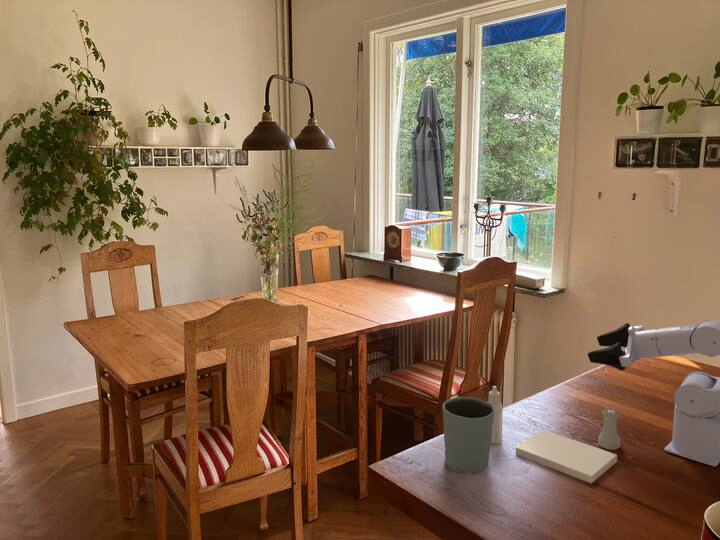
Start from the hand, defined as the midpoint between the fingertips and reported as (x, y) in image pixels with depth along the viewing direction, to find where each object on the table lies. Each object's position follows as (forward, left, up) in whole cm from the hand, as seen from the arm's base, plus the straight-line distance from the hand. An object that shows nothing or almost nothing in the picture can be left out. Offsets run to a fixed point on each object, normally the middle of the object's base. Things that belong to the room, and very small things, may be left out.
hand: (593, 349), depth 128 cm
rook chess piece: (-7, +6, -18) cm, 21 cm away
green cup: (+10, +32, -18) cm, 38 cm away
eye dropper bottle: (+12, +20, -18) cm, 30 cm away
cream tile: (-3, +17, -18) cm, 25 cm away
